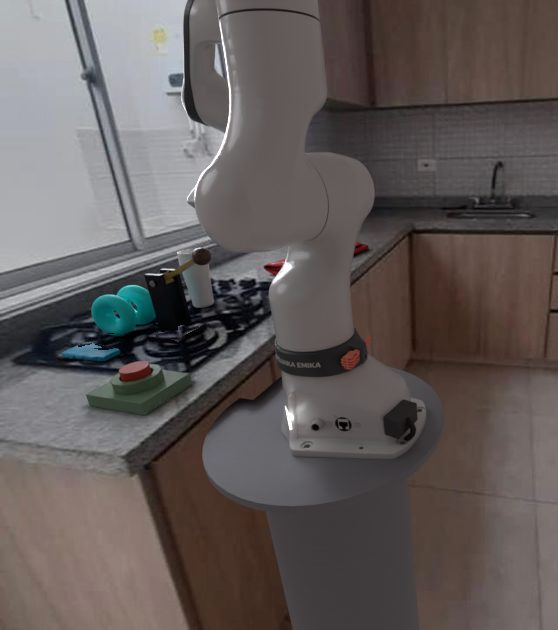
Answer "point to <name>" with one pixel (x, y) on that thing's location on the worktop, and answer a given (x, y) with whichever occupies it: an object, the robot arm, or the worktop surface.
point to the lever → (189, 263)
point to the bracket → (169, 305)
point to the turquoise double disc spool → (123, 310)
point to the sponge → (90, 353)
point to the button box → (140, 391)
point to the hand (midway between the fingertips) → (207, 227)
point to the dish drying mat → (277, 265)
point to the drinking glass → (197, 280)
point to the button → (135, 371)
